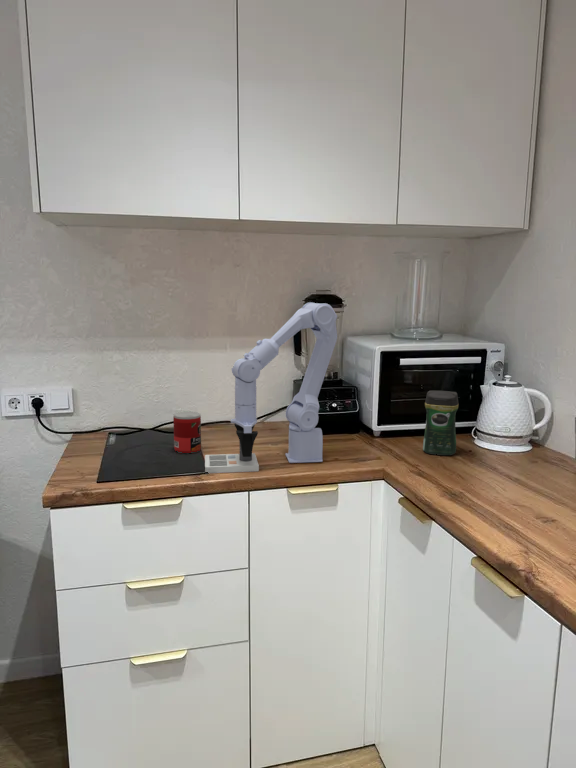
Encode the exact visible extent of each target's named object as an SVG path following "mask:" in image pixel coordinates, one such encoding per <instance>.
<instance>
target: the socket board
mask: <svg viewBox="0 0 576 768" xmlns="http://www.w3.org/2000/svg"><path fill="white" fill-rule="evenodd" d="M259 471H260V465H259V462H258V459H257V455H256V453H255V452H254V453H253V452H252V460H251V461H240V453H226V454H225V453H221V454H205V455H204V473H205V472H208V473H207V474H217V473H222V474H223V473H242V472H243V473H247V472H249V473H250V472H251V473H252V472H259Z"/></svg>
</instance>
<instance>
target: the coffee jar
mask: <svg viewBox="0 0 576 768" xmlns="http://www.w3.org/2000/svg"><path fill="white" fill-rule="evenodd" d="M458 396H459V395H458V393H457V391H448V390H429V391H427V393H426V396H425V397H426V398H425V402H424V407H425V410H426V411H425V412H426V420H425V428H424V436H423V444H422V451H423V452H425V453H426V454H431V455H436V454H437V456H452V455H454V454H456V451H457V434H456V433H457V432H456V430H457V429H456V413H457V411H458V409H459V397H458Z"/></svg>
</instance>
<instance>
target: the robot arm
mask: <svg viewBox="0 0 576 768" xmlns="http://www.w3.org/2000/svg"><path fill="white" fill-rule="evenodd" d="M337 319H338V314H337V313H336V312H335V310H334V308H333V307H332V306H331V304H328V303H326V302H325V303H318V302H316V303H315V302H313V301H312V302H311V301H309V302H306V303H305V304H304V305H302V307H301V308H299V309H298V310H296V312H295V313H293V315H292V316H291V317H290V318H289V319H288V320H287V321H286V322H285V323H284V325H282V326H281V327H280V328H279V329H278V330H277V331H276V332H275V333H274V335H272V336H271V337H270V338H263V339H258V340H257V341H256V342H255V344H256V345H255V346H254V347H253V348H252V349H250V351H249V352H245V353H244V354H243V357H242V358H239V359H237V360H235V362H234V363H233V367H232V368H231V373H232V375H233V376H234V379H235V380H234V384H235V385H234V418H231V419H230V423H231V424H234V427H235V434H236V436H237V438H238V440H240V444H241V450H242V455H243V457H251V454H252V453H253V447H254V444H255V441H256V439H257V436H258V433H259V432H258V430H255V431H253V430H254V428H255V425H256V424H257V423H258V418H257V379H259V377H260V374H261V371H262V370H263V369H265V367H266V366H268V365H269V364H270V363H271V362H272V361H273V360H274V359H275V358H276V357H277V356H278V355H279V353H280V352H279V351H280V348H281V346H283V345H284V344H285V343H287V342H288V341H289V340H290V339H291V338H292V337H294V336H295V335H297V333H298V332H300V331H301V330H305V329H311V331H312V333H313V335H314V336H315V338H316V341H315V343H314V346H313V349H312V352H311V355H310V358H309V362H308V364H307V367H306V371H305V374H304V376H303V380H302V382H301V386H300V388H299V392H297V393H296V394H295V395H294V396H293V398H292V401H291V403H290V404H289V405H288V406H287V407H286V410H285V417H286V420H287V421H289V425H288V452H285V454H284V455H285V458H287V461H288V463H289V464H294V463H295V464H296V463H297V464H298V463H299V464H300V463H323V446H324V445H323V442H324V440H323V439H324V437H323V430H322V428H321V427H316V426H317V425H318V423H319V417H320V416H319V410H320V404H319V403H320V402H319V399H318V398H319V394H320V392H321V388H322V385H323V383H324V380H325V376H326V373H327V372H328V371H327V370H328V367H329V364H330V361H331V358H332V356H333V353H334V350H335V346H336V344H337V340H338V331H337V330H338V329H337V322H336V321H337ZM240 444H239V445H240Z"/></svg>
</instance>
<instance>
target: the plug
mask: <svg viewBox="0 0 576 768" xmlns="http://www.w3.org/2000/svg"><path fill="white" fill-rule="evenodd" d="M238 440H239V439H238ZM238 442H239V454H240V461H251V460H252V454H251V457H243V455H242V450H241V444H240V440H239V441H238Z"/></svg>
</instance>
